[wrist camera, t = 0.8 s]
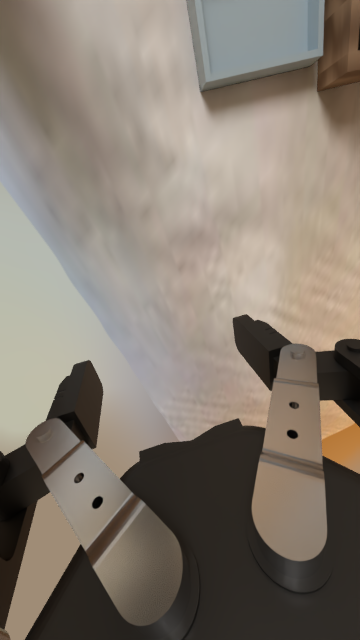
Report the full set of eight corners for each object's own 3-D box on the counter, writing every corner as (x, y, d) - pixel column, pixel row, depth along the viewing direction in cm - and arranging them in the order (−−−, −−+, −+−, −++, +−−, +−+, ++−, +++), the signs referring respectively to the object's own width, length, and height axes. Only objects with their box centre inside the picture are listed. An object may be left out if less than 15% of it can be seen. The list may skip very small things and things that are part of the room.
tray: (181, -32, 25) (186, -56, 23) (310, -57, 27) (326, -81, 24) (200, 92, 30) (206, 82, 28) (309, 66, 31) (322, 55, 29)
